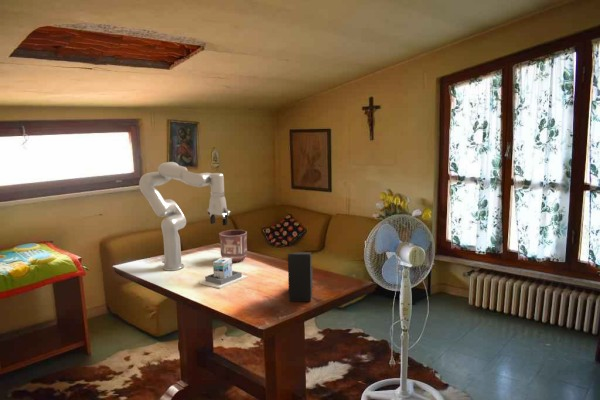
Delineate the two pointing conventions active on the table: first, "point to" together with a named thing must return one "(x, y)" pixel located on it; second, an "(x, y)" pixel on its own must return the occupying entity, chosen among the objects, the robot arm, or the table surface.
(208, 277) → the dock board
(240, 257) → the pottery
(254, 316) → the table surface
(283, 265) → the table surface
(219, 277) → the light bulb box
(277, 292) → the table surface
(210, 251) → the table surface
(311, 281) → the bookend
